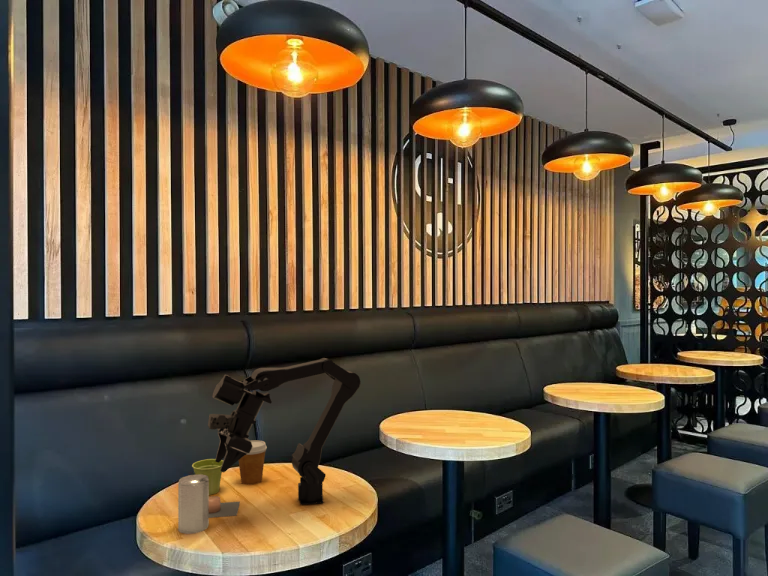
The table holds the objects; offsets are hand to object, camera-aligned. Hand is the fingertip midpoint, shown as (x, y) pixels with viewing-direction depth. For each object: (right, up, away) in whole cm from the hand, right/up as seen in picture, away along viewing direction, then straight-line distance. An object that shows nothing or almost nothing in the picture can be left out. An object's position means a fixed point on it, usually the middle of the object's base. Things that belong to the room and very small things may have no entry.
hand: (219, 466), depth 142 cm
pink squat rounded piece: (-3, -13, +3) cm, 13 cm away
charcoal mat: (-3, -13, +3) cm, 14 cm away
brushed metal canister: (-4, -13, -8) cm, 16 cm away
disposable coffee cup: (+2, -14, +26) cm, 30 cm away
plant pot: (-9, -14, +17) cm, 24 cm away
